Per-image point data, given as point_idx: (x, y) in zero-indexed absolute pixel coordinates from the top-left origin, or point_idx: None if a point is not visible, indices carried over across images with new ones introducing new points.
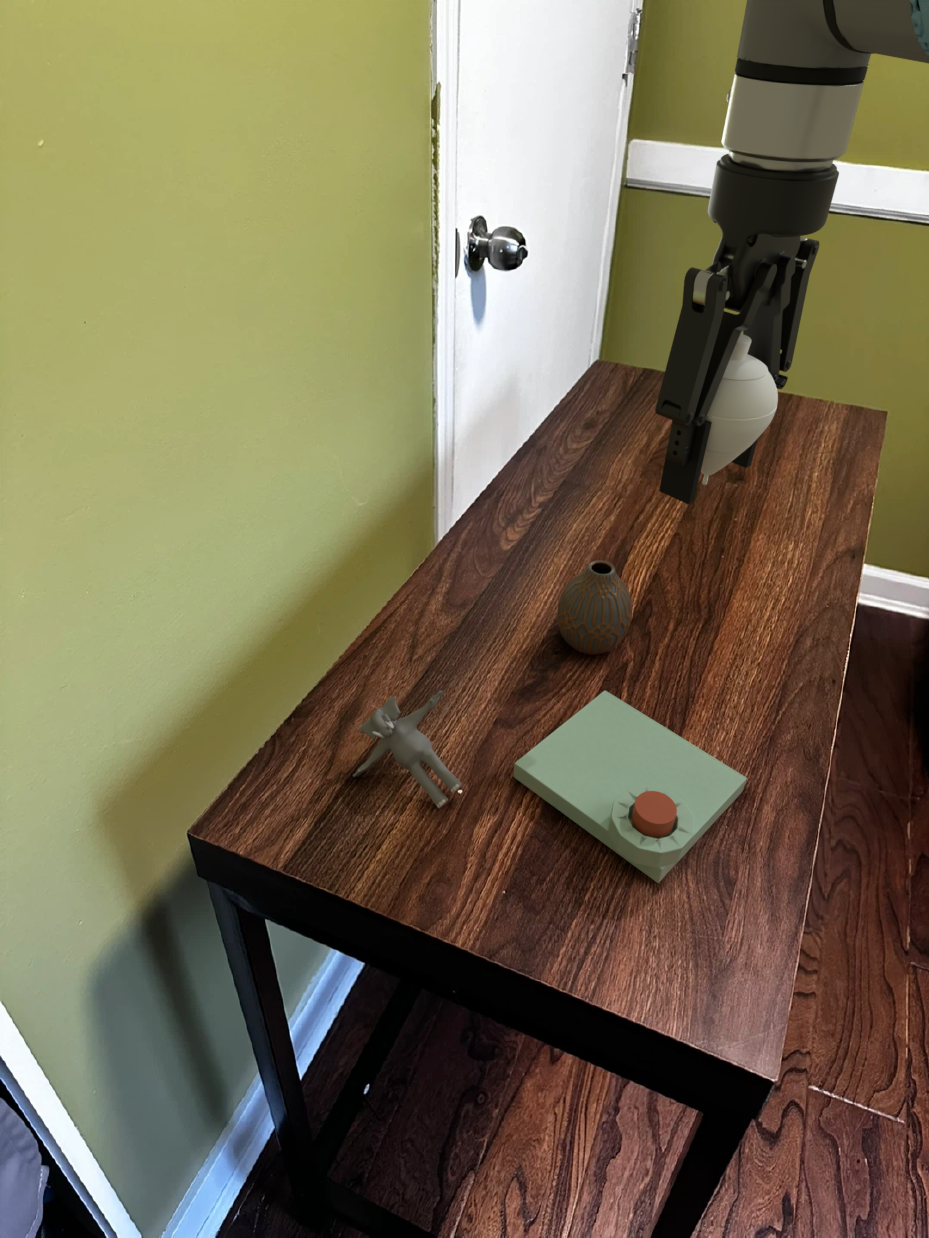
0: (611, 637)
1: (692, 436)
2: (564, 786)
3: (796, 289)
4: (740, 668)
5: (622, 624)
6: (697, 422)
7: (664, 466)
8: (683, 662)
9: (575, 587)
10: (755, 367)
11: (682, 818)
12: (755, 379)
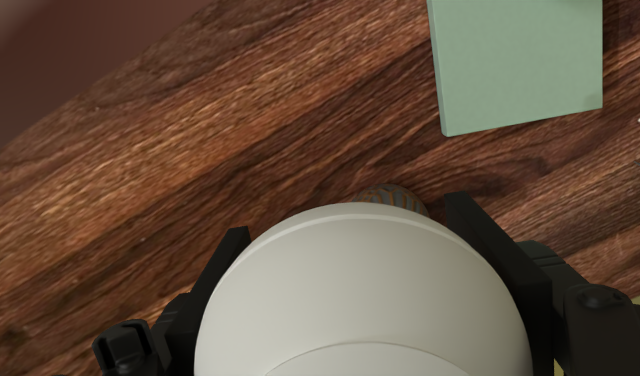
0: (398, 186)
1: (552, 279)
2: (589, 52)
3: None
4: (273, 89)
5: (386, 190)
6: (616, 291)
7: None
8: (320, 132)
9: None
10: None
11: None
12: (391, 343)
